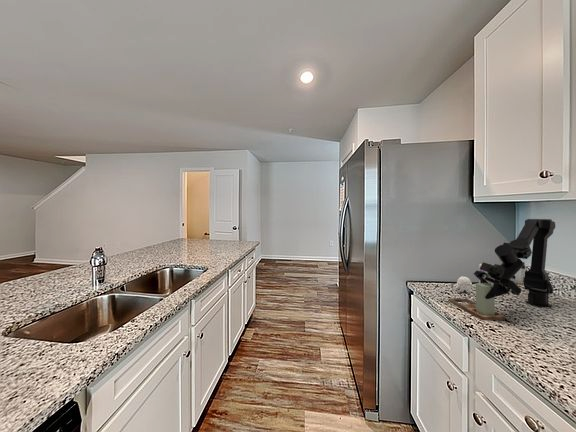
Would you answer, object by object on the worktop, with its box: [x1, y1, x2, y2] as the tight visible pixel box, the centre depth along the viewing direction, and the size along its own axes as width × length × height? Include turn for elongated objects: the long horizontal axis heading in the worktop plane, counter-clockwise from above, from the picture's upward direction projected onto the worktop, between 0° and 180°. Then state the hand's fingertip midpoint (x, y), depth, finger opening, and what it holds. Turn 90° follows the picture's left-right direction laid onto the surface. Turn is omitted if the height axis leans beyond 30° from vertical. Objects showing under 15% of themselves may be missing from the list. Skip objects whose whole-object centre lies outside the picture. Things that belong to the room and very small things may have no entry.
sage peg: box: [475, 282, 496, 316], centre depth 108 cm, size 4×4×12 cm
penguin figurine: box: [456, 275, 473, 294], centre depth 142 cm, size 6×8×12 cm
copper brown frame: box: [448, 297, 506, 321], centre depth 115 cm, size 9×22×1 cm, turn 0°
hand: (481, 296), depth 108 cm, fingers closed on sage peg, 4 cm apart
